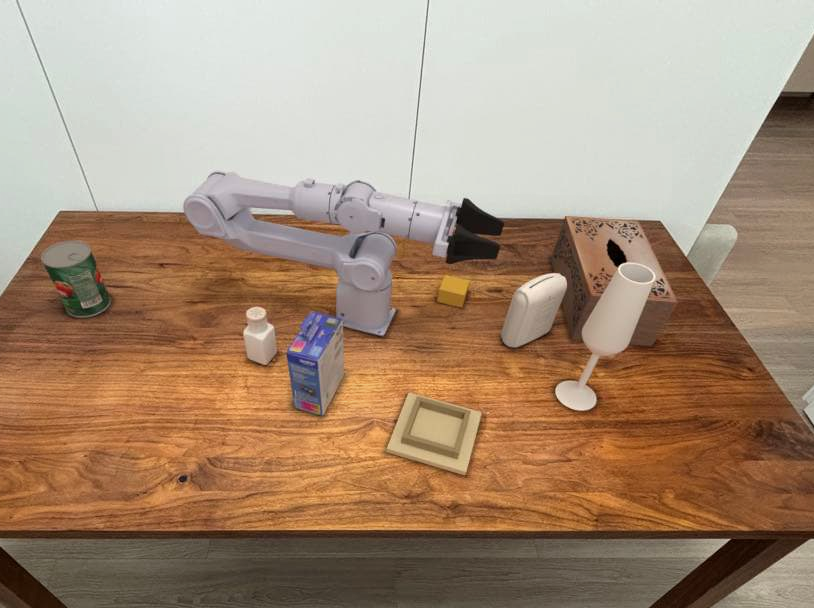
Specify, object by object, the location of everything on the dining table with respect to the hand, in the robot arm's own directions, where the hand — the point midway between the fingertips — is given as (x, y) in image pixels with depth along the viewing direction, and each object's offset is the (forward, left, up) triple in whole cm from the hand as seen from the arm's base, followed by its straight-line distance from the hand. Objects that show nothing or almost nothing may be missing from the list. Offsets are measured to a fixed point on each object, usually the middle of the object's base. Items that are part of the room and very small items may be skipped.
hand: (500, 240), depth 81 cm
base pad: (-2, -23, -20) cm, 31 cm away
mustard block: (-7, +11, -20) cm, 24 cm away
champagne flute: (+18, -7, -21) cm, 29 cm away
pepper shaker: (-34, -17, -21) cm, 43 cm away
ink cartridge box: (-22, -21, -21) cm, 37 cm away
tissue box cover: (+20, +21, -21) cm, 36 cm away
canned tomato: (-70, -16, -21) cm, 74 cm away
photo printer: (+8, +5, -21) cm, 23 cm away
